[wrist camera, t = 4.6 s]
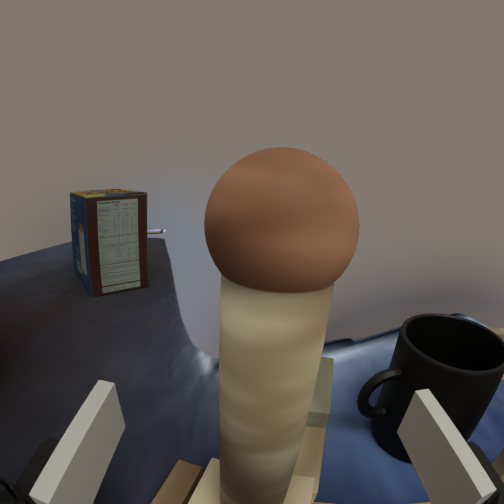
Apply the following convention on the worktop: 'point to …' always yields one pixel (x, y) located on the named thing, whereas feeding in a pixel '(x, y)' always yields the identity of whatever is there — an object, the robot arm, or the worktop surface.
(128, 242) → the protein box
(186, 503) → the rail
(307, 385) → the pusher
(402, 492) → the worktop surface
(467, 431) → the mug
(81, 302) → the worktop surface
